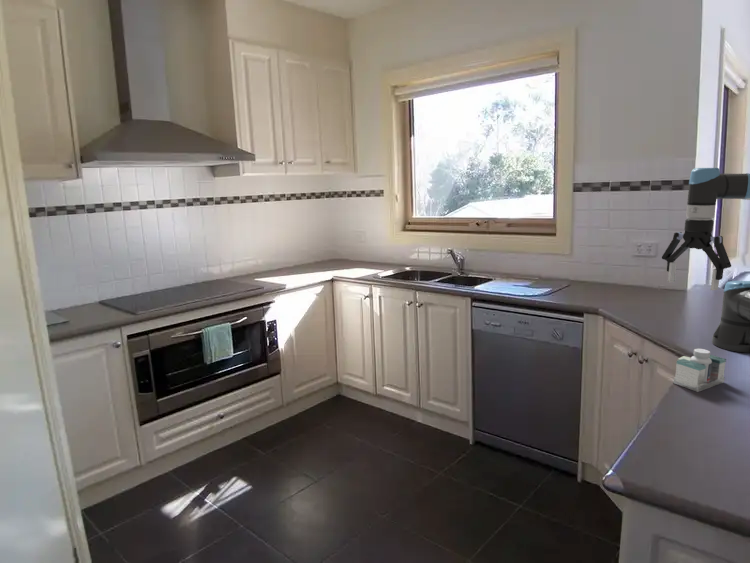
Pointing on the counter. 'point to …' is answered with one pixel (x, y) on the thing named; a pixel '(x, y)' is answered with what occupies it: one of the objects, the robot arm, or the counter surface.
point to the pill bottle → (703, 361)
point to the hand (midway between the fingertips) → (692, 285)
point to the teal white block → (699, 374)
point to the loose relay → (685, 358)
